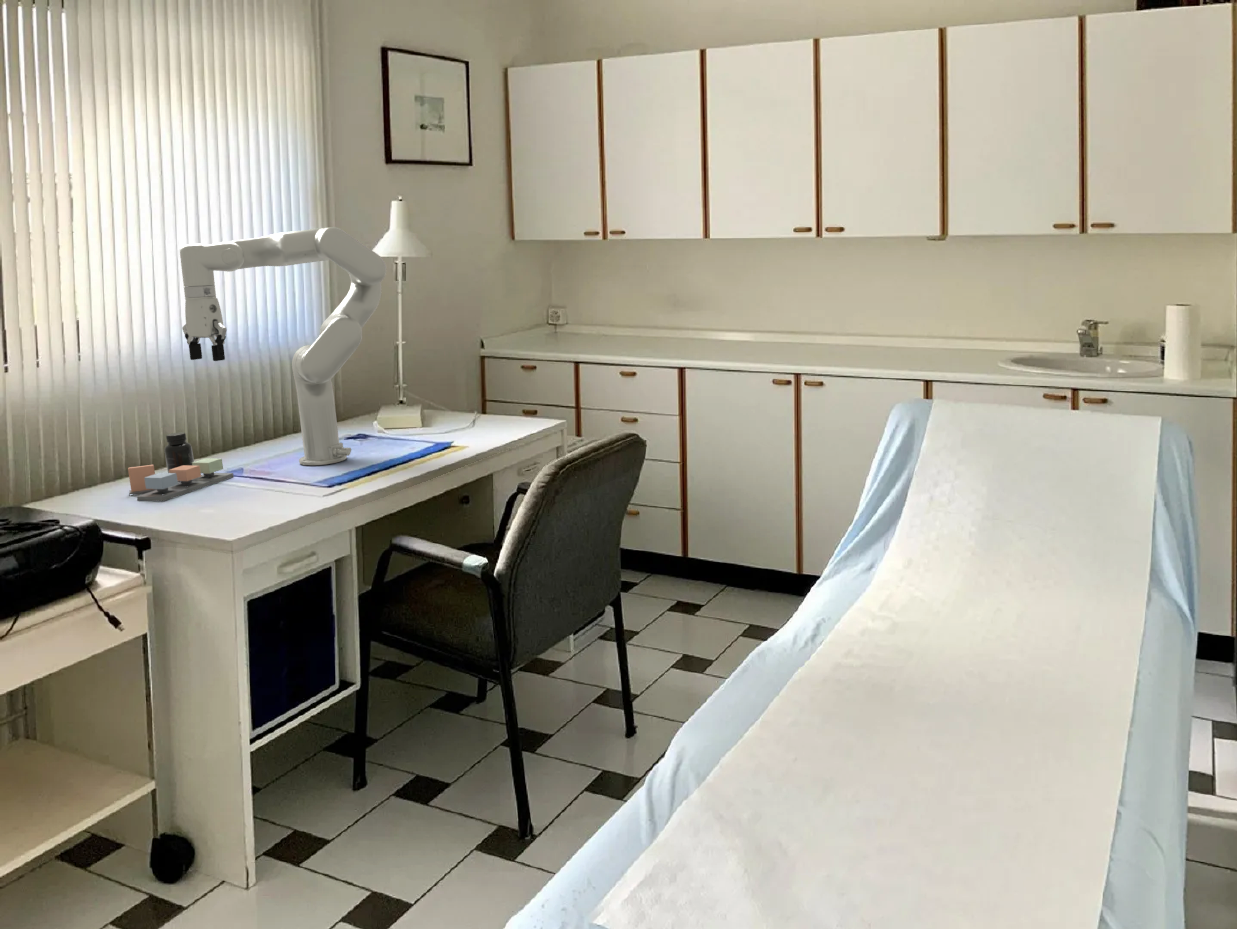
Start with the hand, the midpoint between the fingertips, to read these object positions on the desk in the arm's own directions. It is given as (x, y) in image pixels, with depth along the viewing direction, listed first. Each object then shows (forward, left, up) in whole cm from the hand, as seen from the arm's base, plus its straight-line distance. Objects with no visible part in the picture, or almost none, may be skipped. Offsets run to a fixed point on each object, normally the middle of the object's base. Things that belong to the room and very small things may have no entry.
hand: (207, 359), depth 302 cm
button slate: (0, +23, -29) cm, 37 cm away
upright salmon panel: (+9, +19, -31) cm, 37 cm away
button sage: (0, +6, -29) cm, 30 cm away
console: (0, +14, -31) cm, 34 cm away
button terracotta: (0, +14, -29) cm, 32 cm away
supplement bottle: (+10, +4, -31) cm, 33 cm away
